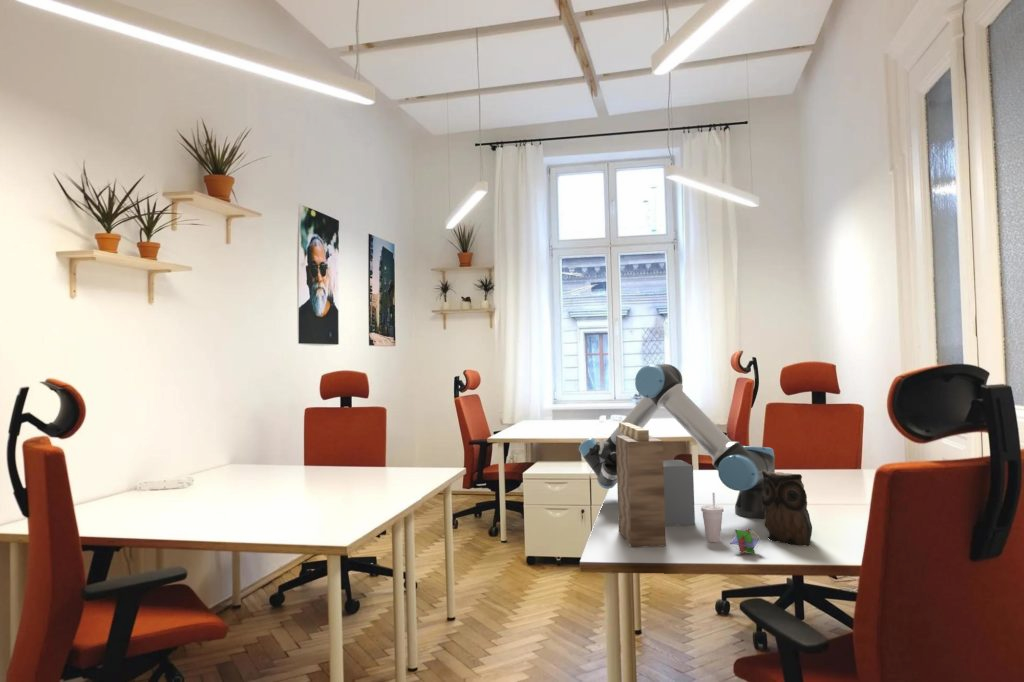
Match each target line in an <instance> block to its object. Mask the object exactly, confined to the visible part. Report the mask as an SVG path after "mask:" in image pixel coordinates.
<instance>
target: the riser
mask: <svg viewBox="0 0 1024 682" xmlns="http://www.w3.org/2000/svg"><path fill="white" fill-rule="evenodd" d="M663 467H664V498H665V525H674V526H695V525H696V517H695V515H696V514H695V512H696V511H695V488H694V487H695V485H694V484H695V483H694V465H693V464H690V463H689V462H686V461H683V460H681V459H666V460H665V459H663ZM694 524H695V525H694Z"/></svg>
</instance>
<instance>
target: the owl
mask: <svg viewBox="0 0 1024 682" xmlns="http://www.w3.org/2000/svg"><path fill="white" fill-rule="evenodd" d="M762 474H763V495H762V503H763V505H764V507H765V518H764V528H765V529H767V532H768V538H769V539H770V540H769V539H768V538H767V539H768V540H769V541H771V540H772V541H771V542H776V541H778V543H781V544H786V545H788V544H790V545H789V546H803V545H806V546H805V547H810V546H811V539H812V534H813V533H812V532H813V524H812V522H811V517H810V513H809V511H808V509H807V508H808V501H807V500H808V499H807V498H808V496H807V493H806V489H805V485H804V483H803V481H802V478H803V475H802V474H799V473H798V474H797V473H789V472H782V471H781V472H780V471H775V473H774V472H767V471H765V470H763V471H762ZM809 545H810V546H809Z"/></svg>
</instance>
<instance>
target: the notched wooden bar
mask: <svg viewBox="0 0 1024 682" xmlns="http://www.w3.org/2000/svg"><path fill="white" fill-rule="evenodd" d="M618 426H619V432H621V433H623V434H625V435H627V436H630V437H632V438H634V439H636V440H638V441H649V436H650V435H649V434H650V433H649V432H650V430H649V429H646V428H644V427H643V428H641V427H639V426H636V425H633V424H631V423H628V422H626V423H622V422H618Z"/></svg>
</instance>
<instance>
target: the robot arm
mask: <svg viewBox="0 0 1024 682" xmlns="http://www.w3.org/2000/svg"><path fill="white" fill-rule="evenodd" d="M634 381H635V382H634V385H635V389H636V390H637V393H638V394H639V395H640V396H642V398H641V399H640V400H639V401H638V403H636V405H635V406H634V407H633V408H632V410H631V411H630V412H629V413H628V414H627V415H626V416H625V417H624V419H623V420H622V421H621V423H626V422H628V423H631V424H633V425H636V426H639V427H641V428H644V427H645V426H646V425H647V424H648V423H649V422H650V420H651V419H652V418H653V417H654V416H655V415H656V414H657V413H658V412H659V410H660V409H661V408H664V409H665V410H666V411H667V412H668V413H669V414H670V415H671V416H672V417H673V418H674V419H675V420H676V422H677V423H679V425H680V426H681V427H682V428H683V429H685V431H686V432H687V433H688V434H689V435H690V436H691V437H692V438H693V440H695V442H696V443H698V445H699V446H700V447H701V448H702V449H703V451H705V452H706V453H707V454H708V456H709V457H711V459H712V466H713V467H714V468H715V470H717V473H718V478H719V479H720V481H721V483H722V484H723V485H724V486H725V487H726V488H728V489H730V490H733V491H737V492H738V491H739V492H738V494H737V498H736V501H735V505H734V513H735V514H736V515H738V516H741V515H742V517H747V518H753V517H754V518H755V519H765V507H764V505H763V503H762V495H763V474H762V471H763V470H765V471H767V472H774V473H776V471H775V459H776V457H775V453H774V452H775V451H774V449H773V448H772V447H767V446H766V447H765V446H750V445H749V446H748V445H747V446H746V445H742V444H741V442H740V441H733V440H731V439H730V438H729V437H728V436H727V435H726V434H725V433H724V432H723V431H722V430H721V429H720V428H719V427H718V426H717V425H716V424H715V423H714V422H713V421H712V420H711V418H709V416H708V415H706V414H705V412H704V411H702V409H701V408H700V407H699V406H698V405H697V404H696V402H694V401H693V400H692V399H691V398H690V397H689V396H688V395H687V394H686V393H685V391H683V375H682V372H681V371H680V370H679V369H678V368H677V367H676V366H674V365H672V364H667V363H662V364H661V363H660V364H655V363H651V364H647V365H645V366H643V367H641V368H640V369H639V370H637V372H636V375H635V379H634ZM620 435H625V434H623V433H621V432H619V425H618V426H617V427H616V429H615V430H614V431H613V432H612V433H611V434H610V436H608V438H607V439H606V440H605V441H604V439H603V438H600V440H599V442H597V440H595V438H593V437H590V438H587V439H585V440H584V441H583V442H582V443H581V444H580V445H579V446H578V451H579V452H580V454H581V456H582V458H583V459H584V460H585V462H586V463H587V465H588V466H589V467H590V468H591V470H592V471H593V472H594V474H595V475H596V478H597V483H598V485H599V486H600V487H601V488H604V490H605V489H606V490H608V489H612V488H614V487H615V486H616V485H617V453H616V436H620Z"/></svg>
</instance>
